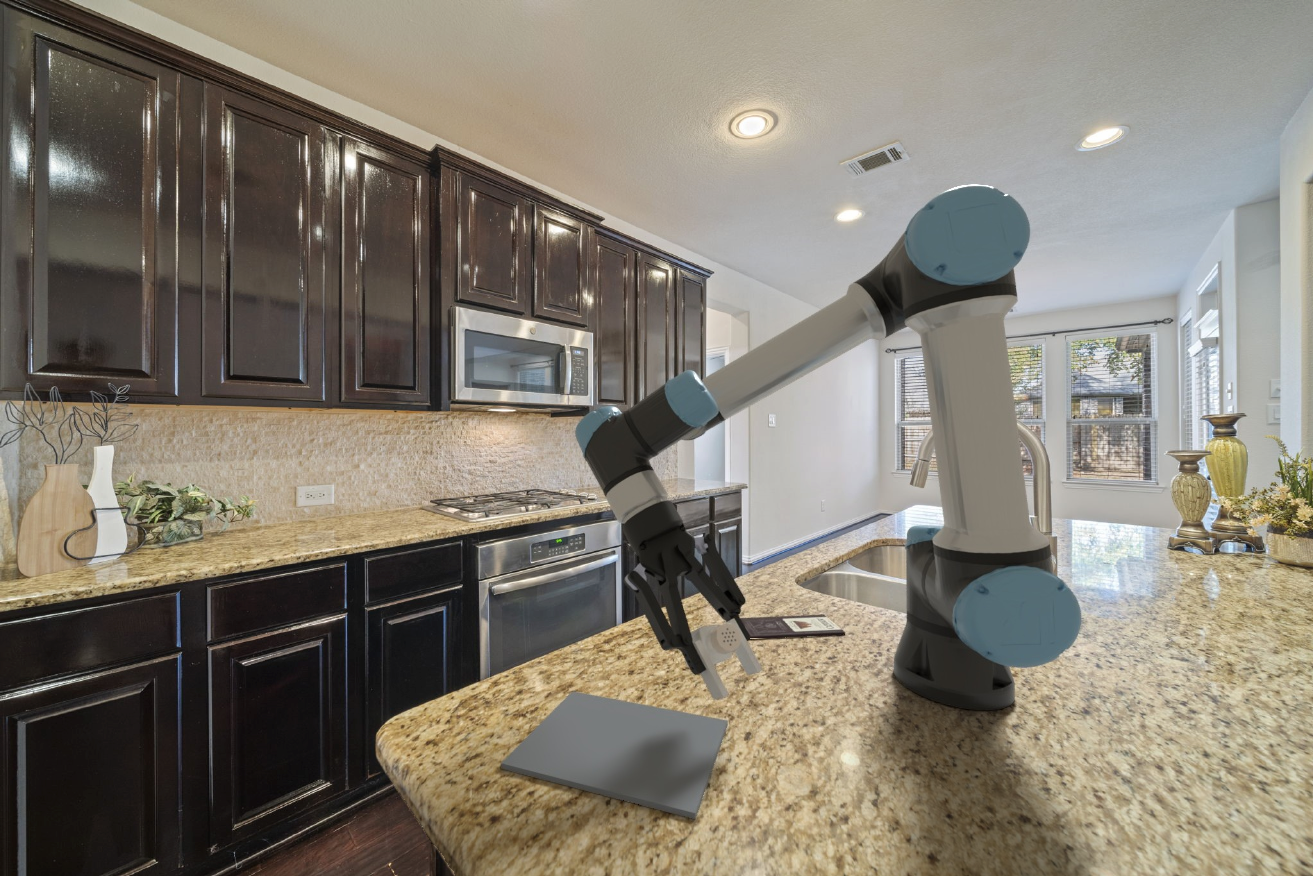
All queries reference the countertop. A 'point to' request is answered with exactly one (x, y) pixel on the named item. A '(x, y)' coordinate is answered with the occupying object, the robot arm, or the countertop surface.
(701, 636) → the salt shaker
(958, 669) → the robot arm
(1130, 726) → the countertop surface
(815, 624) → the chocolate bar
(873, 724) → the countertop surface
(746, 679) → the countertop surface
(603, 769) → the rubber mat
